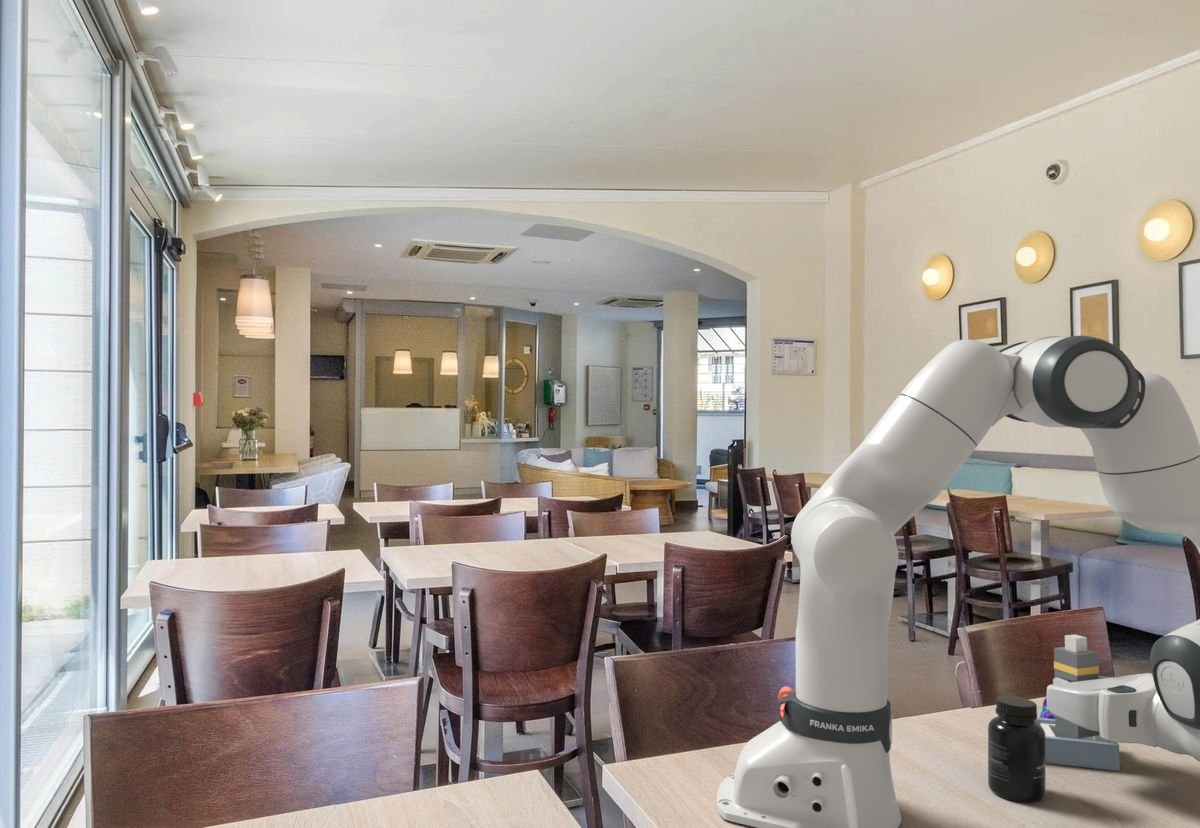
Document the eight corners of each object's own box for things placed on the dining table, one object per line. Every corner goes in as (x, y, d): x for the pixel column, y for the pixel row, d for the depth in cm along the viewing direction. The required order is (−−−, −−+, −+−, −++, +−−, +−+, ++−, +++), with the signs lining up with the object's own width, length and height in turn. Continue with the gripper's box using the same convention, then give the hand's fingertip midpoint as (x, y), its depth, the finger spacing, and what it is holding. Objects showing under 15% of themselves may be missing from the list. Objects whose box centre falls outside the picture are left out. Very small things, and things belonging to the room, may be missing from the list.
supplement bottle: (1053, 806, 107) (1052, 711, 107) (995, 801, 108) (995, 708, 108) (1036, 784, 113) (1035, 694, 113) (982, 779, 115) (982, 691, 115)
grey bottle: (1078, 738, 121) (1076, 641, 121) (1054, 728, 125) (1053, 634, 125) (1100, 735, 122) (1098, 638, 122) (1076, 725, 126) (1074, 632, 126)
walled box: (1009, 759, 122) (1009, 734, 122) (999, 737, 130) (999, 714, 130) (1119, 771, 118) (1119, 745, 118) (1101, 747, 126) (1101, 723, 126)
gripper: (1215, 679, 114) (1124, 653, 127) (1099, 694, 108) (1016, 665, 121) (1216, 726, 114) (1125, 695, 127) (1100, 743, 108) (1017, 709, 121)
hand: (1071, 681), depth 124 cm, fingers closed on grey bottle, 4 cm apart
